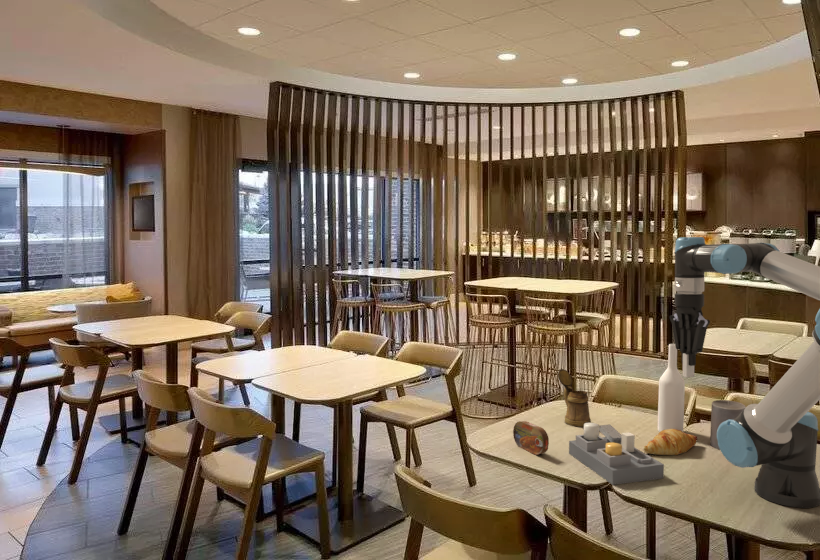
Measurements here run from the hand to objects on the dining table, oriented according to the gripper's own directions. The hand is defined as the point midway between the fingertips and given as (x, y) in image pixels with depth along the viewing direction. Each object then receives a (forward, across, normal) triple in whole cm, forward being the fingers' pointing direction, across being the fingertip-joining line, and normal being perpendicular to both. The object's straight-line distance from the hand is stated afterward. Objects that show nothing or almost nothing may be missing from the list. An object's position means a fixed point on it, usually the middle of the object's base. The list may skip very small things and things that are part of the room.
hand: (688, 376), depth 177 cm
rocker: (+21, -20, -11) cm, 31 cm away
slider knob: (+23, -11, -12) cm, 28 cm away
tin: (+27, -32, -32) cm, 53 cm away
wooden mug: (+27, -52, -4) cm, 58 cm away
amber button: (+23, -7, -20) cm, 31 cm away
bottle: (+27, -31, +21) cm, 46 cm away
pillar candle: (+28, -13, +28) cm, 41 cm away
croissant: (+28, -17, +9) cm, 34 cm away
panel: (+28, -12, -16) cm, 34 cm away
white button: (+21, -18, -19) cm, 34 cm away
